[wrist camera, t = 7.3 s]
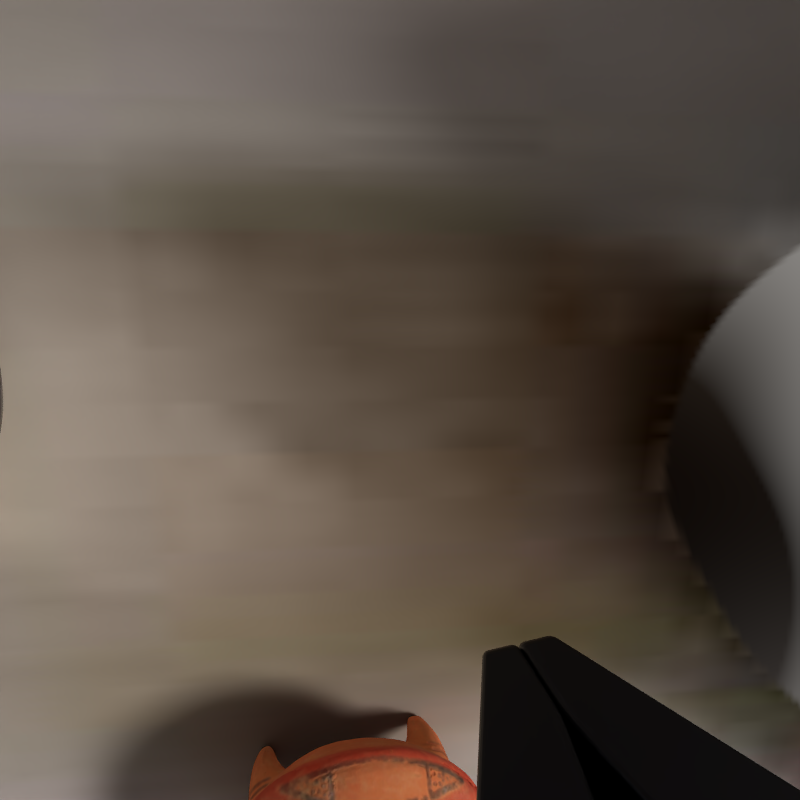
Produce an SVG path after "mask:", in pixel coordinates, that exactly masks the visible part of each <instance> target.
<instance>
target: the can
mask: <svg viewBox="0 0 800 800" xmlns="http://www.w3.org/2000/svg"><path fill="white" fill-rule="evenodd" d="M2 413H3V390H2V377H1V369H0V431H1V424H2Z"/></svg>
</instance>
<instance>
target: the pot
mask: <svg viewBox="0 0 800 800" xmlns="http://www.w3.org/2000/svg"><path fill="white" fill-rule="evenodd" d="M476 798H477V786H476V785H475V784H474V782H473V781H472V780H471V778H470V777H469V776H468V775H467V774H466V773H465V772H464V771H462V770H461V769H460V768H459V767H457V766H456V765H455V764H453V763H452V762H450V761H449V760H448V757H447V755H446V753H445V751H444V748H443V746H442V744H441V742H440V740H439V738H438V736H437V735H436V733H435V732H434V731H433V729H432V728H431V727H430V726H429V725H428V724H427V723H426V722H425V721H424V720H423V719H422V718H421V717H419V716H411V717H409V718H408V721H407V740H406V742H404V741H400V740H395V739H386V738H356V739H350V740H343V741H338V742H334V743H331V744H327V745H324V746H321V747H319V748H317V749H315V750H313V751H311V752H309V753H307V754H306V755H304V756H302V757H301V758H299V759H298V760H296V761H295V762H294V763H292V764H291V765H290V766H288V767H287V768H286V769H285V768H284V767H283V766H282V765H281V764H280V763H279V761H278V760H277V757H276V755H275V753H274V750H273V749H272V748H271V747H270V746H266V747H264V748H262V750H261V751H260V752H259V754H258V756H257V758H256V760H255V763H254V766H253V770H252V774H251V781H250V788H249V798H248V800H476Z"/></svg>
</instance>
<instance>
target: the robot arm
mask: <svg viewBox="0 0 800 800" xmlns="http://www.w3.org/2000/svg"><path fill="white" fill-rule="evenodd" d="M476 800H800V790H799V789H797V788H796V787H794V786H793V785H791V784H789V783H788V782H786V781H785V780H783V779H781V778H780V777H778V776H777V775H775V774H773V773H772V772H770V771H769V770H767V769H765V768H764V767H762V766H761V765H759V764H757V763H756V762H754V761H753V760H751V759H749V758H748V757H746V756H745V755H743V754H741V753H740V752H738V751H737V750H735V749H733V748H732V747H730V746H729V745H727V744H725V743H724V742H722V741H721V740H719V739H717V738H716V737H714V736H713V735H711V734H709V733H708V732H706V731H705V730H703V729H701V728H700V727H698V726H697V725H695V724H693V723H692V722H690V721H689V720H687V719H685V718H684V717H682V716H681V715H679V714H677V713H676V712H674V711H673V710H671V709H669V708H668V707H666V706H665V705H663V704H661V703H660V702H658V701H657V700H655V699H653V698H652V697H650V696H649V695H647V694H645V693H644V692H642V691H641V690H639V689H637V688H636V687H634V686H633V685H631V684H629V683H628V682H626V681H625V680H623V679H621V678H620V677H618V676H617V675H615V674H613V673H612V672H610V671H609V670H607V669H605V668H604V667H602V666H601V665H599V664H597V663H596V662H594V661H593V660H591V659H589V658H588V657H586V656H585V655H583V654H581V653H580V652H578V651H577V650H575V649H573V648H572V647H570V646H569V645H567V644H565V643H564V642H562V641H561V640H559V639H557V638H556V637H552V636H546V637H542V638H538V639H533V640H529V641H525V642H522V643H521V644H520V646H519V648H518V647H517V646H515V645H509V646H505V647H500V648H496V649H492V650H488V651H486V652H485V653H484V655H483V660H482V682H481V705H480V729H479V752H478V775H477V798H476Z"/></svg>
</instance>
